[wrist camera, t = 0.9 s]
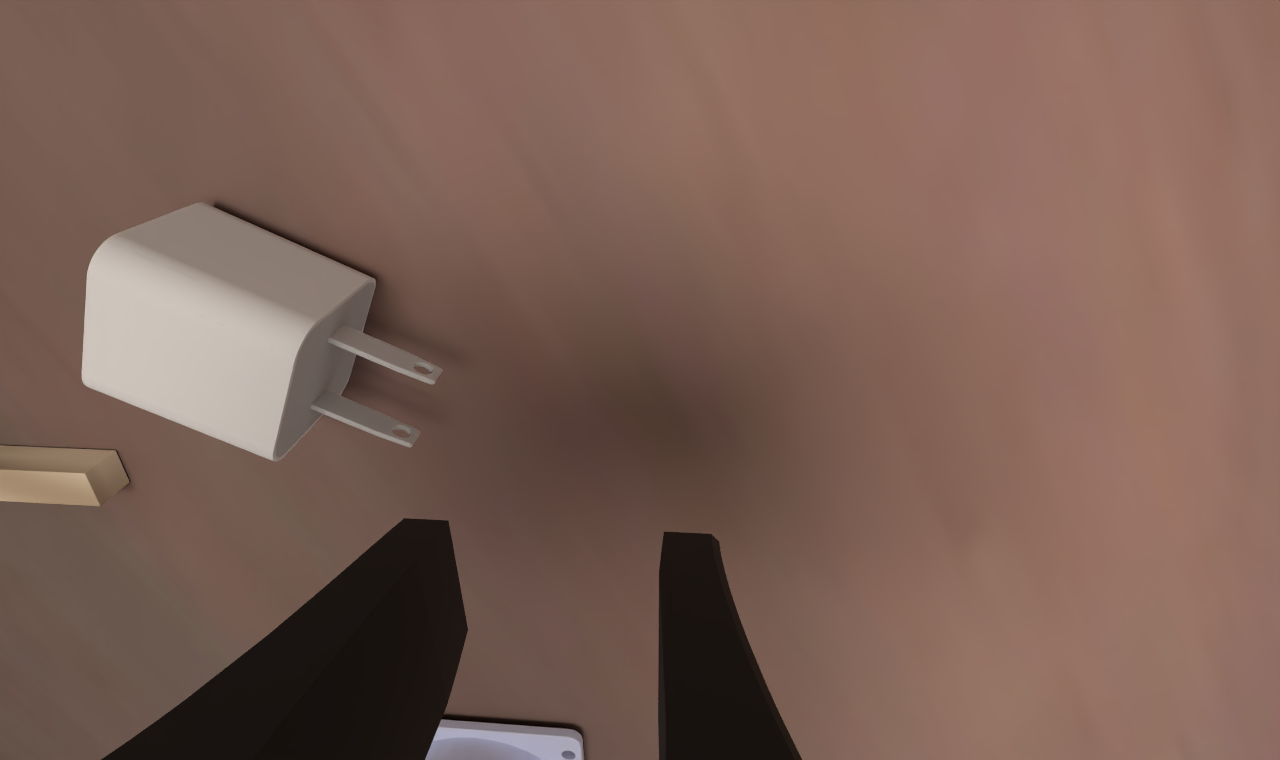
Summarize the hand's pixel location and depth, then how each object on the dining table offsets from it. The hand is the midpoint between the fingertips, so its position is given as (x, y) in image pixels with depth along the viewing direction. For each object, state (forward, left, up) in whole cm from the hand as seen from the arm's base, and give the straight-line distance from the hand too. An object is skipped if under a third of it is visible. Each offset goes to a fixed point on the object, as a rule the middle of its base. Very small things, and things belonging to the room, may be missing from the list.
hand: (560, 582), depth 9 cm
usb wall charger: (0, +8, -10) cm, 13 cm away
